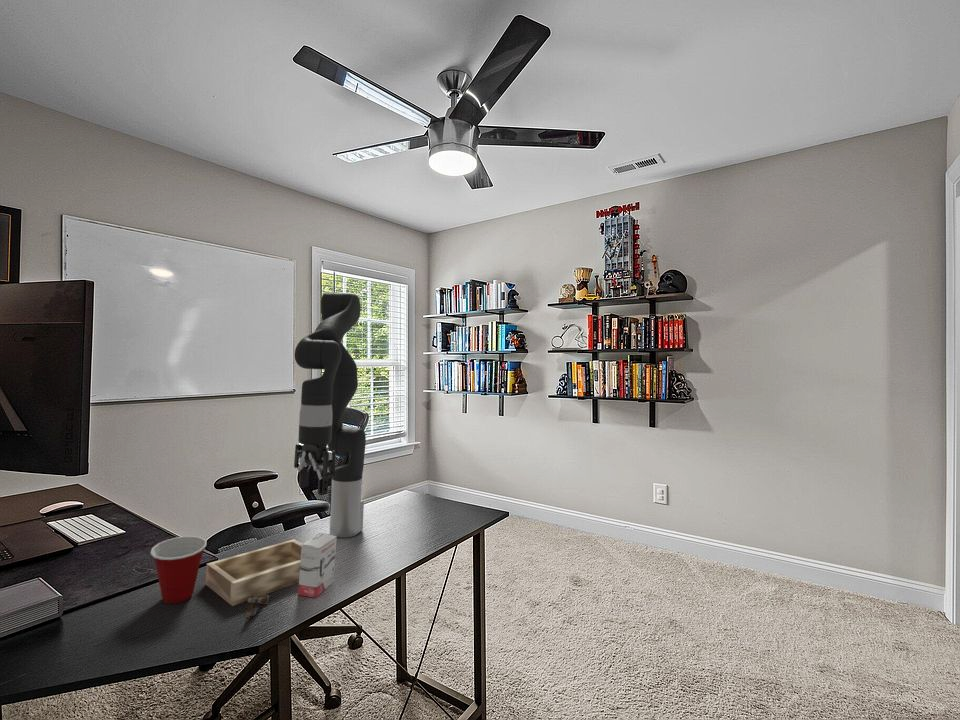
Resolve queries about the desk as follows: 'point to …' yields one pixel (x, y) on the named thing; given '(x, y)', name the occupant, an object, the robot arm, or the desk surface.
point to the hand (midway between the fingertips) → (312, 490)
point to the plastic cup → (178, 566)
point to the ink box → (317, 564)
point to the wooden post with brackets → (253, 600)
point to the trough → (255, 572)
